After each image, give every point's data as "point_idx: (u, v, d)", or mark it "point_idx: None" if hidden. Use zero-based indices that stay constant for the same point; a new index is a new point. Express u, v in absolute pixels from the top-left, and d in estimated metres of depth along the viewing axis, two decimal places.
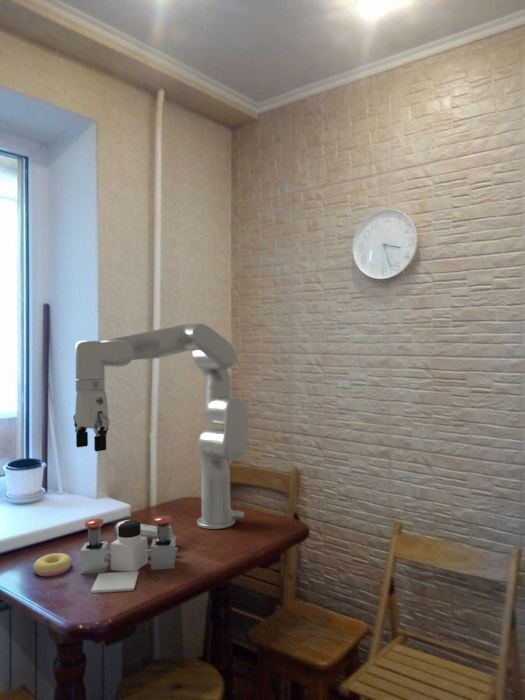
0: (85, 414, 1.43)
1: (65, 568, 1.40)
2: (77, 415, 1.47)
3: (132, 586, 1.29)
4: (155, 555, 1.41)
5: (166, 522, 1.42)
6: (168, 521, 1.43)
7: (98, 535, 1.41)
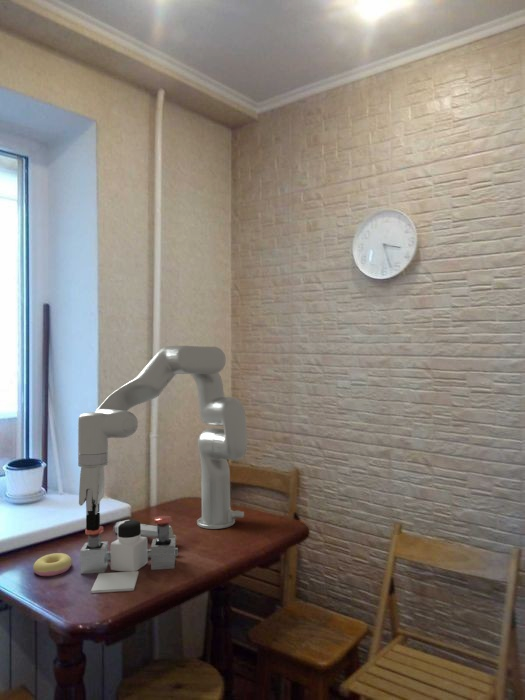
0: (103, 485, 1.44)
1: (65, 568, 1.40)
2: (99, 492, 1.39)
3: (132, 586, 1.29)
4: (155, 555, 1.41)
5: (166, 522, 1.42)
6: (168, 521, 1.43)
7: (98, 542, 1.41)
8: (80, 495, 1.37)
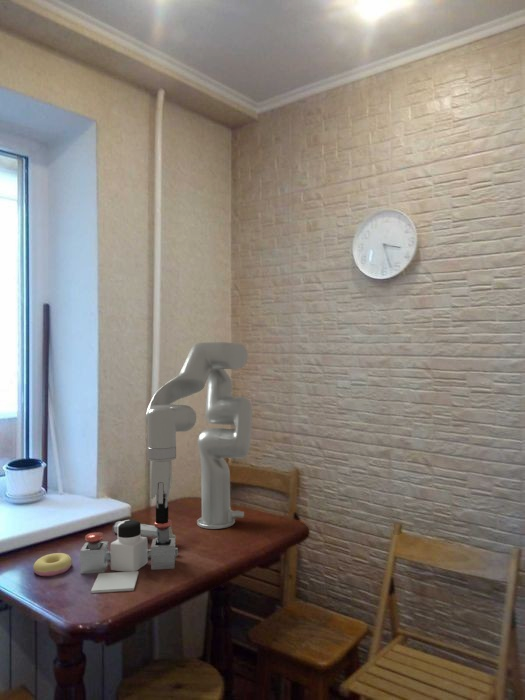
0: None
1: (65, 568, 1.40)
2: (169, 486, 1.41)
3: (132, 586, 1.29)
4: (155, 555, 1.41)
5: (166, 526, 1.42)
6: (168, 525, 1.43)
7: None
8: (152, 488, 1.39)
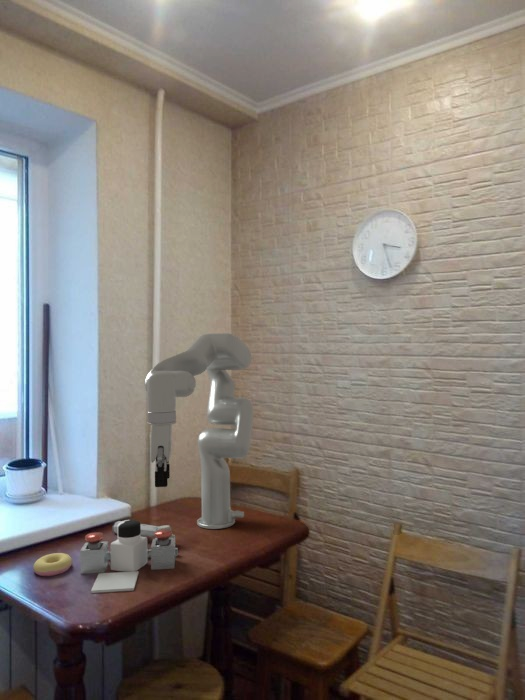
0: None
1: (65, 568, 1.40)
2: (169, 449, 1.42)
3: (132, 586, 1.29)
4: (155, 555, 1.41)
5: (166, 536, 1.42)
6: (168, 535, 1.43)
7: None
8: (152, 452, 1.39)
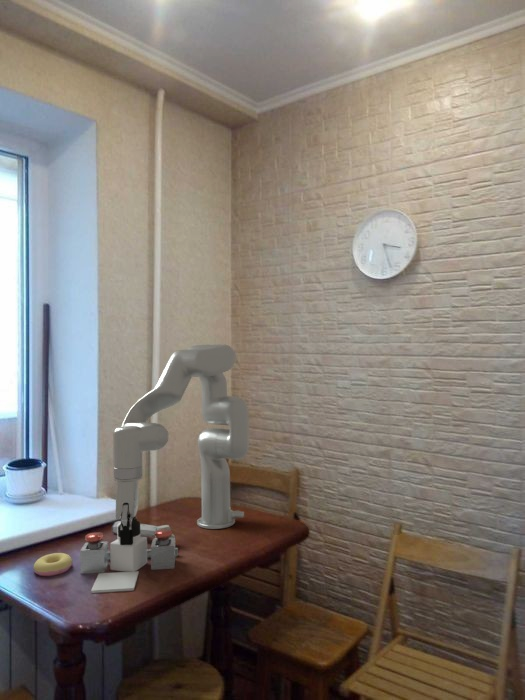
0: None
1: (65, 568, 1.40)
2: (135, 506, 1.40)
3: (132, 586, 1.29)
4: (155, 555, 1.41)
5: (166, 536, 1.42)
6: (168, 535, 1.43)
7: None
8: (117, 509, 1.38)
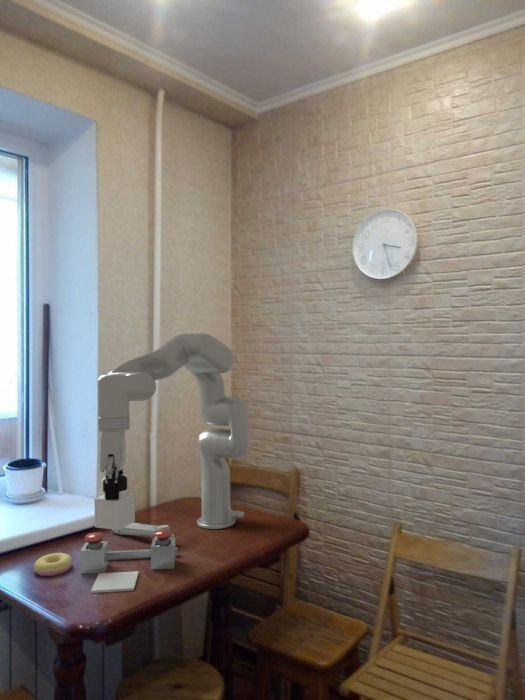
0: None
1: (65, 568, 1.40)
2: (121, 458, 1.30)
3: (132, 586, 1.29)
4: (155, 555, 1.41)
5: (166, 536, 1.42)
6: (168, 535, 1.43)
7: None
8: (101, 461, 1.28)
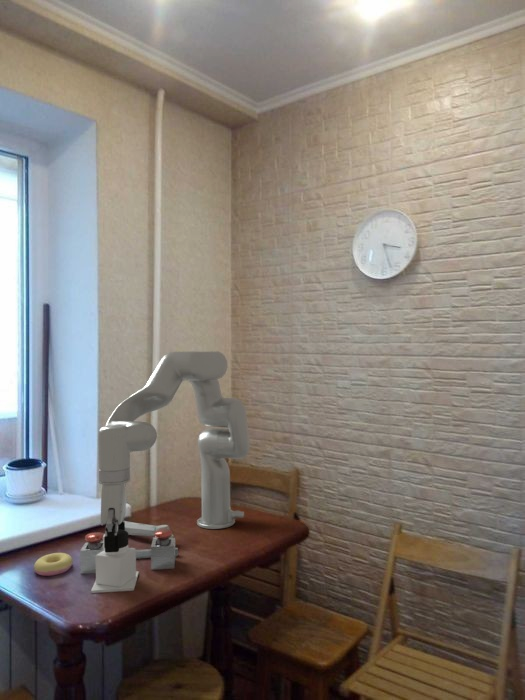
0: (125, 503, 1.35)
1: (65, 568, 1.40)
2: (122, 511, 1.30)
3: (132, 586, 1.29)
4: (155, 555, 1.41)
5: (166, 536, 1.42)
6: (168, 535, 1.43)
7: None
8: (102, 515, 1.28)
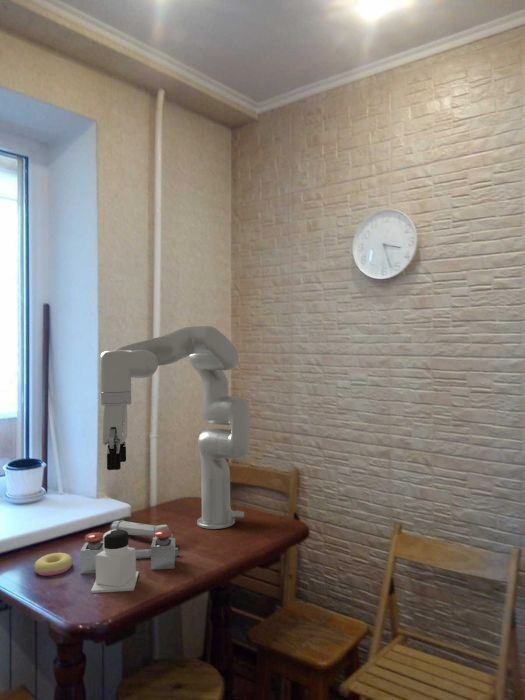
0: None
1: (65, 568, 1.40)
2: (123, 431, 1.34)
3: (132, 586, 1.29)
4: (155, 555, 1.41)
5: (166, 536, 1.42)
6: (168, 535, 1.43)
7: None
8: (104, 434, 1.32)
